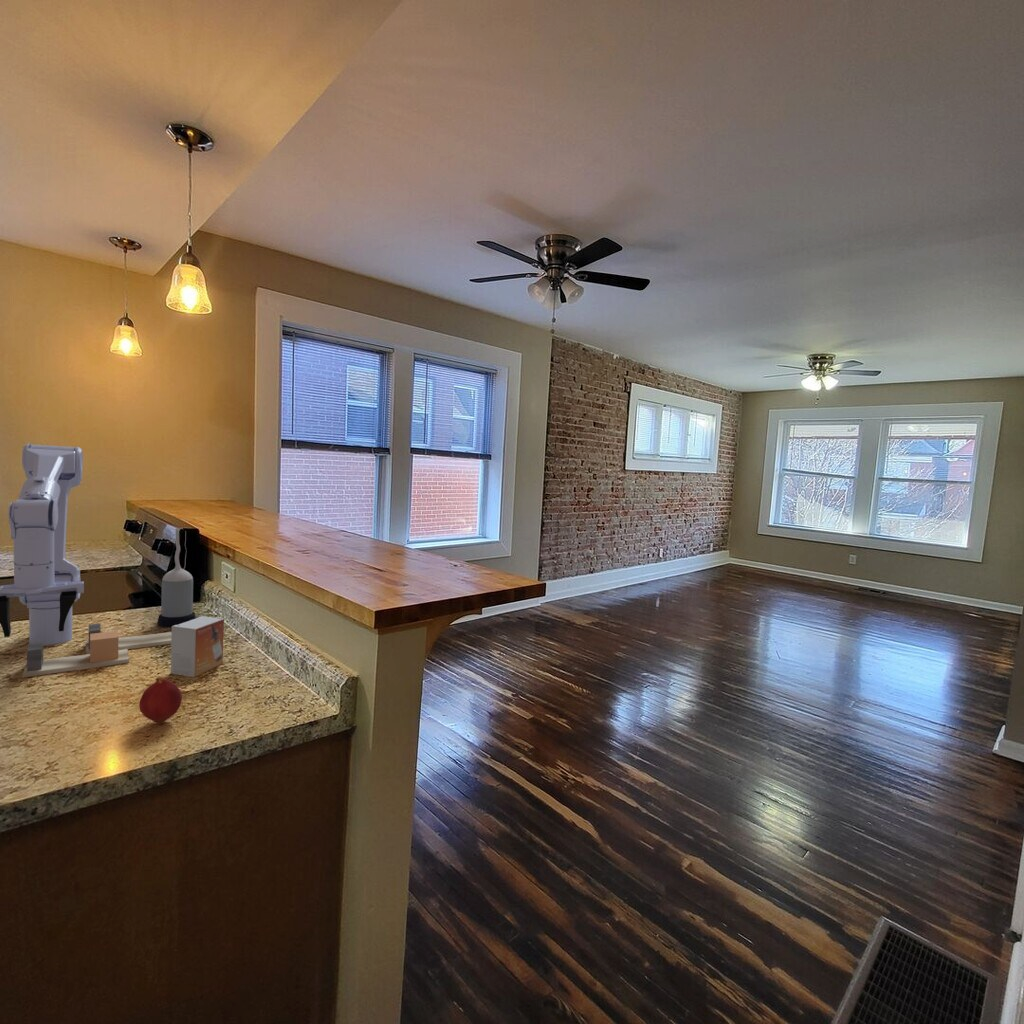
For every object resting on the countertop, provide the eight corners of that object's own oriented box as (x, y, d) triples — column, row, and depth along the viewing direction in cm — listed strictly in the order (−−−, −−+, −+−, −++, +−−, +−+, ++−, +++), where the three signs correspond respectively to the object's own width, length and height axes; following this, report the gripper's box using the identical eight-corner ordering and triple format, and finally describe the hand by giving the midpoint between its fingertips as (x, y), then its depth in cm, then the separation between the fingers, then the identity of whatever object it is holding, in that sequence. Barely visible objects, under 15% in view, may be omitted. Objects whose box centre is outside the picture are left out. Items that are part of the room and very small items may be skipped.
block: (90, 655, 109) (90, 633, 109) (117, 651, 112) (117, 630, 112) (90, 662, 106) (90, 640, 105) (118, 658, 108) (118, 637, 108)
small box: (194, 681, 104) (195, 629, 103) (169, 677, 105) (170, 625, 104) (223, 667, 112) (225, 618, 111) (200, 663, 113) (201, 615, 112)
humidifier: (156, 623, 136) (157, 526, 134) (193, 619, 141) (195, 526, 139) (158, 632, 130) (159, 531, 127) (197, 628, 135) (199, 530, 132)
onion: (152, 713, 91) (153, 668, 90) (188, 714, 91) (189, 669, 91) (131, 730, 85) (131, 682, 84) (169, 732, 86) (170, 683, 85)
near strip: (26, 665, 104) (26, 641, 104) (127, 652, 114) (127, 630, 113) (23, 677, 99) (22, 652, 99) (129, 662, 109) (129, 639, 108)
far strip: (85, 645, 116) (85, 623, 116) (172, 635, 126) (172, 615, 126) (85, 654, 111) (85, 632, 111) (175, 643, 121) (175, 622, 121)
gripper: (-24, 569, 93) (-22, 644, 94) (83, 564, 102) (83, 633, 103) (-17, 561, 98) (-16, 633, 100) (83, 557, 107) (83, 623, 109)
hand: (35, 632), depth 102 cm, fingers open, 7 cm apart
